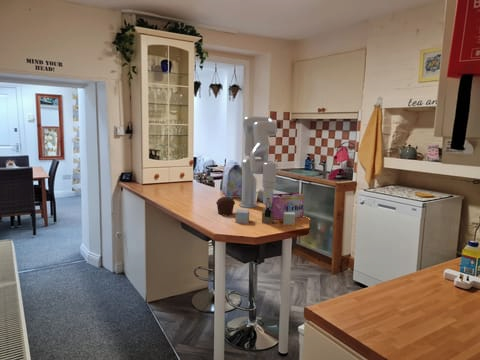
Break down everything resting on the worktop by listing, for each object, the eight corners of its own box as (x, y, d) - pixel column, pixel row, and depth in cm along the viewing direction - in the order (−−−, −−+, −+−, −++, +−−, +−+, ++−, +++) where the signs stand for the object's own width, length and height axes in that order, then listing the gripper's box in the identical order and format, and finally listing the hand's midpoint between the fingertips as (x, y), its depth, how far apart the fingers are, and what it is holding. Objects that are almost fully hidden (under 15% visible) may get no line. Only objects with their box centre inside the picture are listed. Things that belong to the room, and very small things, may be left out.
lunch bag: (248, 198, 267) (249, 162, 263) (226, 198, 263) (226, 162, 259) (241, 192, 289) (242, 159, 285) (220, 193, 285) (221, 159, 281)
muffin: (222, 216, 212) (222, 199, 210) (212, 212, 221) (212, 196, 219) (238, 214, 219) (239, 198, 217) (228, 210, 228) (228, 194, 226)
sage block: (283, 221, 205) (283, 211, 204) (294, 222, 205) (294, 211, 204) (283, 224, 199) (283, 213, 198) (294, 225, 199) (295, 214, 198)
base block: (236, 219, 207) (237, 209, 206) (248, 220, 206) (249, 210, 205) (235, 222, 200) (235, 212, 199) (247, 223, 199) (248, 212, 198)
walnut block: (262, 220, 207) (262, 210, 206) (272, 221, 206) (273, 210, 205) (261, 223, 201) (262, 212, 200) (272, 223, 200) (273, 213, 199)
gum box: (297, 213, 225) (299, 192, 223) (305, 216, 218) (307, 194, 216) (265, 217, 214) (266, 194, 212) (272, 220, 207) (273, 197, 205)
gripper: (263, 182, 209) (262, 211, 211) (261, 186, 192) (260, 218, 194) (276, 182, 208) (274, 212, 210) (275, 187, 191) (274, 218, 193)
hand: (267, 214), depth 202 cm, fingers open, 9 cm apart
